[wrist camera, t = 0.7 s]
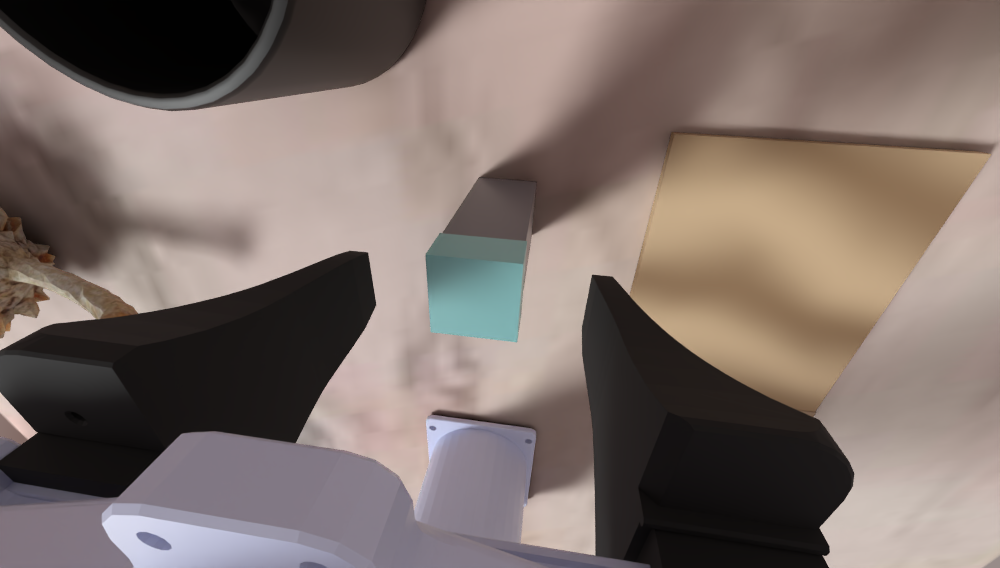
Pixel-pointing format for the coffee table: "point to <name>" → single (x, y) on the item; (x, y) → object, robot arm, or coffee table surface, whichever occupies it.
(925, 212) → the tan rectangular board
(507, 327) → the teal block
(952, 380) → the coffee table surface
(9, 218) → the pine cone
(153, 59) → the mug
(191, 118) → the coffee table surface
